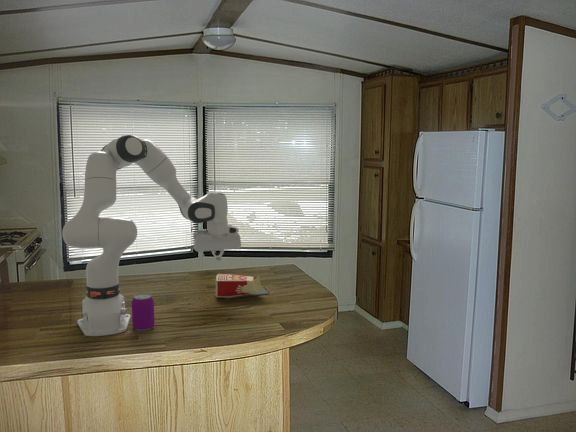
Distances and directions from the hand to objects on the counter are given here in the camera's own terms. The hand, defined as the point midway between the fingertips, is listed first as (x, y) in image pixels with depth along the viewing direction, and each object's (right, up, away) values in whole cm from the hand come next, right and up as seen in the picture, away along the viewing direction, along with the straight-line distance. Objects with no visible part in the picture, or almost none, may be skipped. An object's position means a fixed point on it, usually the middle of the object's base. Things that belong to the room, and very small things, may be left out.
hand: (217, 260), depth 228 cm
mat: (+10, -14, +6) cm, 19 cm away
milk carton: (0, -11, -1) cm, 11 cm away
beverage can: (-22, -22, -39) cm, 49 cm away
